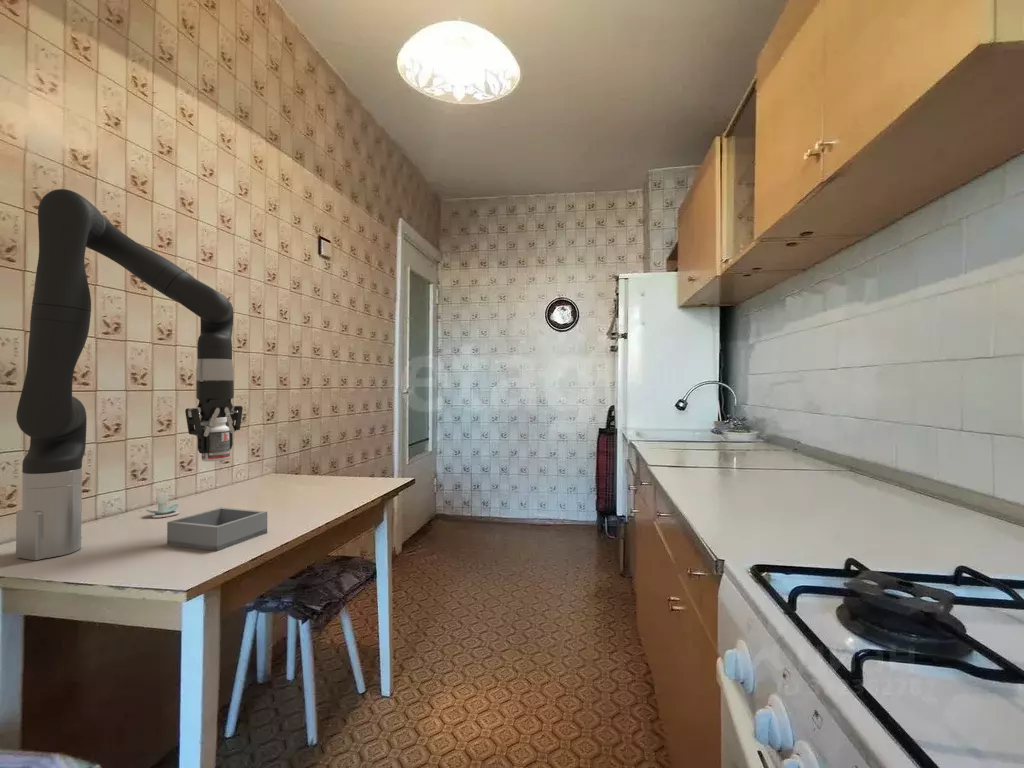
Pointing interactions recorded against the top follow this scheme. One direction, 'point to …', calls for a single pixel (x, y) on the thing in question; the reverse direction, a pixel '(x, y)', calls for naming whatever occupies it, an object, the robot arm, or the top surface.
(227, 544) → the bin
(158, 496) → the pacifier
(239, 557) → the top surface
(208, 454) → the pill bottle
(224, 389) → the robot arm
